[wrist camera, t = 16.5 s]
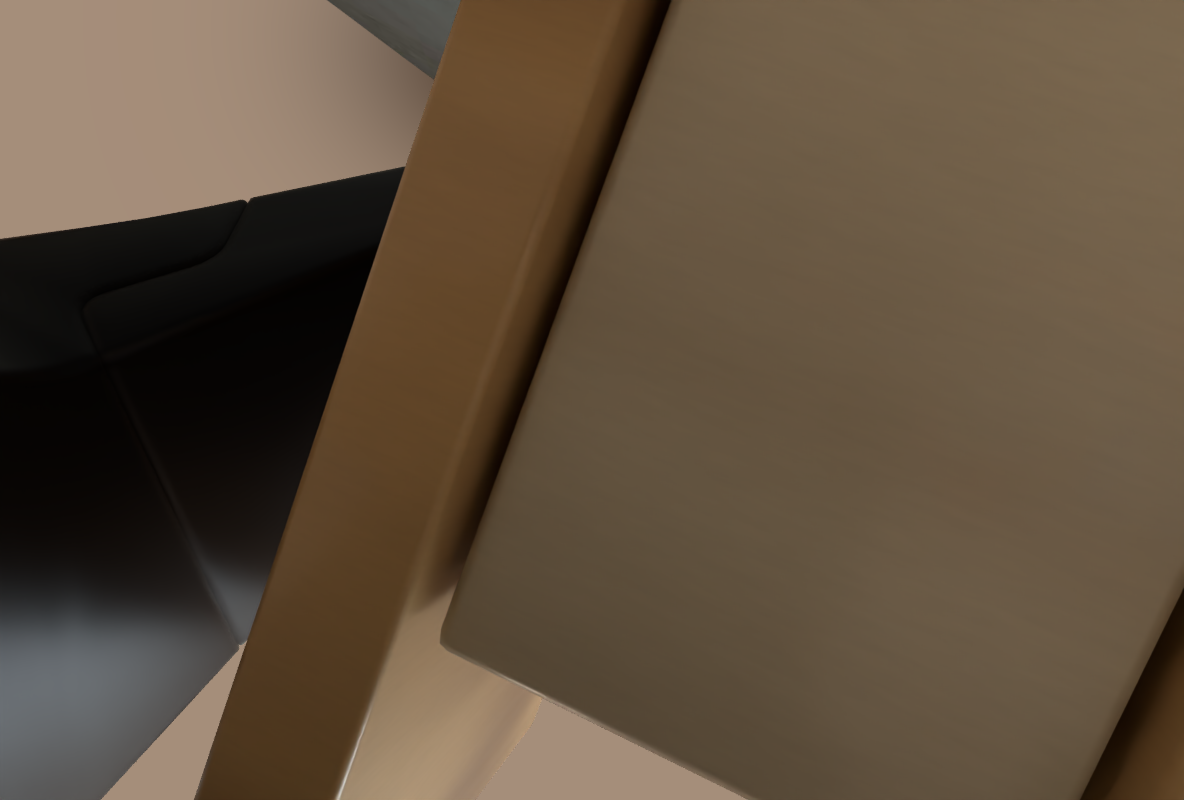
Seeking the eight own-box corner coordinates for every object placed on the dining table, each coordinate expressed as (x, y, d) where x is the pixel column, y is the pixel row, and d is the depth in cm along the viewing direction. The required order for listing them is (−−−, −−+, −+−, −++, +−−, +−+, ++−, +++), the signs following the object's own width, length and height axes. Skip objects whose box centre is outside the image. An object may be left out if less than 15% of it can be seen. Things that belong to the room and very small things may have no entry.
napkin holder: (1024, -1709, 3) (91, 1091, 5) (2932, -1945, 2) (944, 1665, 4) (887, -399, 9) (474, 697, 11) (1411, -299, 8) (864, 894, 10)
